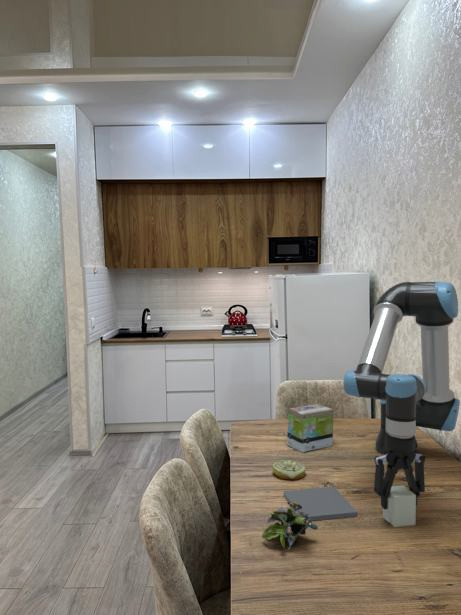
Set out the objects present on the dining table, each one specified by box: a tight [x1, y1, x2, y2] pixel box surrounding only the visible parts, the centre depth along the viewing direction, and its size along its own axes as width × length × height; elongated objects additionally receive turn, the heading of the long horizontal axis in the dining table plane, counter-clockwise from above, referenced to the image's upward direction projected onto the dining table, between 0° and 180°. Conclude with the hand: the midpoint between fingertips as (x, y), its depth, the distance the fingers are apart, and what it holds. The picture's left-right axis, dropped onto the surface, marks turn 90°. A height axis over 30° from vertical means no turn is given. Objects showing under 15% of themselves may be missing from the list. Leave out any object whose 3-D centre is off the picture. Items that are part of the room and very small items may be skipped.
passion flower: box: [261, 501, 319, 553], centre depth 115 cm, size 11×11×12 cm
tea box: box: [286, 403, 334, 453], centre depth 182 cm, size 15×10×15 cm, turn 120°
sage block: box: [382, 484, 417, 528], centre depth 126 cm, size 6×6×8 cm
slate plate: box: [283, 486, 358, 522], centre depth 134 cm, size 16×16×1 cm
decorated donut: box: [272, 459, 307, 481], centre depth 156 cm, size 10×11×4 cm
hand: (398, 518), depth 126 cm, fingers closed on sage block, 6 cm apart
